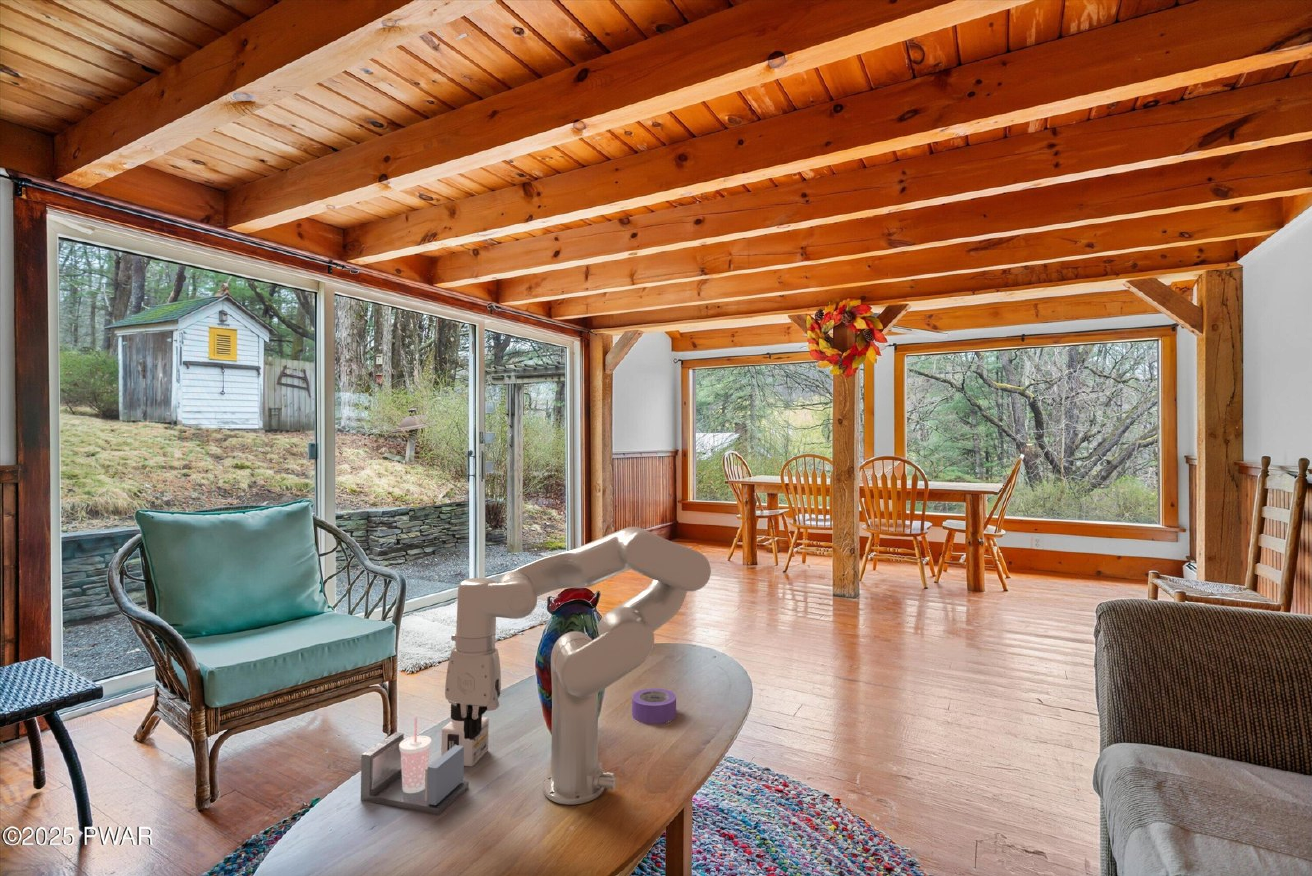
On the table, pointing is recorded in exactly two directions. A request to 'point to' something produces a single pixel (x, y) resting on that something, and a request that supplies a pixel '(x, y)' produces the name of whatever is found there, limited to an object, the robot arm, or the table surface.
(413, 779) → the beverage cup
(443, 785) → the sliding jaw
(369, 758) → the vise base
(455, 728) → the container
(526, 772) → the table surface
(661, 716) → the tape roll
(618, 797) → the table surface
